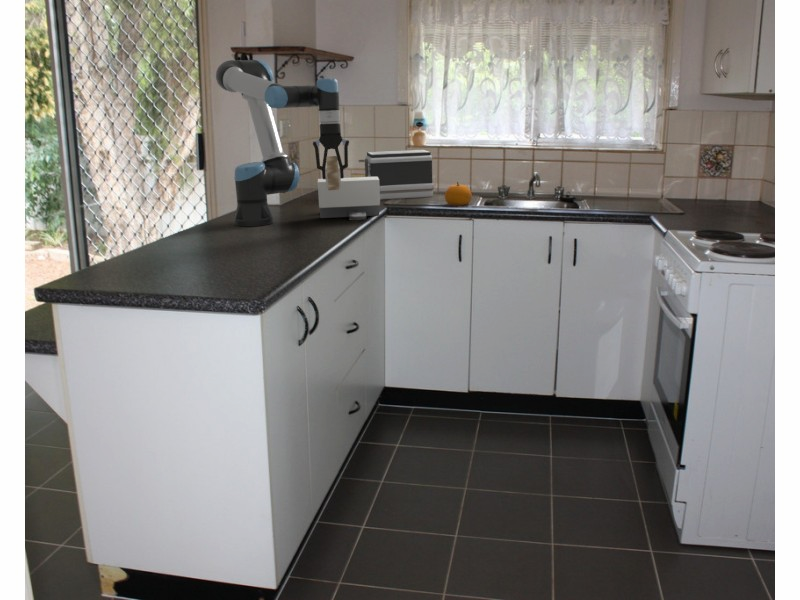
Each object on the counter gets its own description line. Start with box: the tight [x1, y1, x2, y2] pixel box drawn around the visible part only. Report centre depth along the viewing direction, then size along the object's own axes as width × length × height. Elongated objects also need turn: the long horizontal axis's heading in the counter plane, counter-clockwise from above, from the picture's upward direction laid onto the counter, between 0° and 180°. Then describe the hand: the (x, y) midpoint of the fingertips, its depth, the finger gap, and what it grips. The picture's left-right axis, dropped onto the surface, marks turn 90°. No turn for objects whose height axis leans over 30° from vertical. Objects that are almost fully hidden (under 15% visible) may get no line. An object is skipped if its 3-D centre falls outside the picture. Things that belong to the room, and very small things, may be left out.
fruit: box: [444, 181, 473, 207], centre depth 328 cm, size 12×12×10 cm
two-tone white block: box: [317, 176, 381, 219], centre depth 300 cm, size 24×12×16 cm, turn 95°
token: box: [348, 210, 367, 221], centre depth 300 cm, size 7×7×3 cm
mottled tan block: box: [326, 155, 339, 190], centre depth 282 cm, size 4×16×12 cm, turn 5°
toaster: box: [358, 149, 435, 201], centre depth 360 cm, size 18×34×21 cm, turn 100°
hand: (333, 187), depth 278 cm, fingers closed on mottled tan block, 4 cm apart
